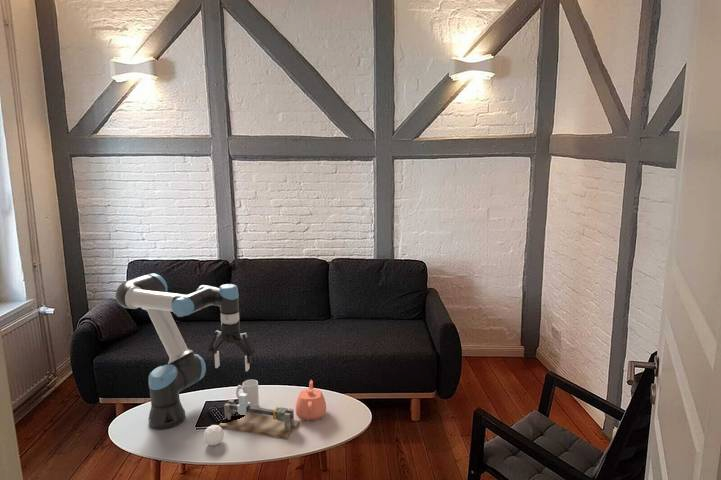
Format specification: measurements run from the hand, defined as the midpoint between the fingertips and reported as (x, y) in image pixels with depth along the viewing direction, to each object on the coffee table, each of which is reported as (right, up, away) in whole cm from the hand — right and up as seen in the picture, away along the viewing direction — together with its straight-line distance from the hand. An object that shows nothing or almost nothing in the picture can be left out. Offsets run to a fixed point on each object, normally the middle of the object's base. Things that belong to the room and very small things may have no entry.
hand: (232, 368), depth 224 cm
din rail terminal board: (+11, -25, +1) cm, 27 cm away
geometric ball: (-4, -28, -11) cm, 30 cm away
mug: (+3, -22, +16) cm, 27 cm away
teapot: (+33, -23, +9) cm, 41 cm away
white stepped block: (+5, -19, +2) cm, 20 cm away
